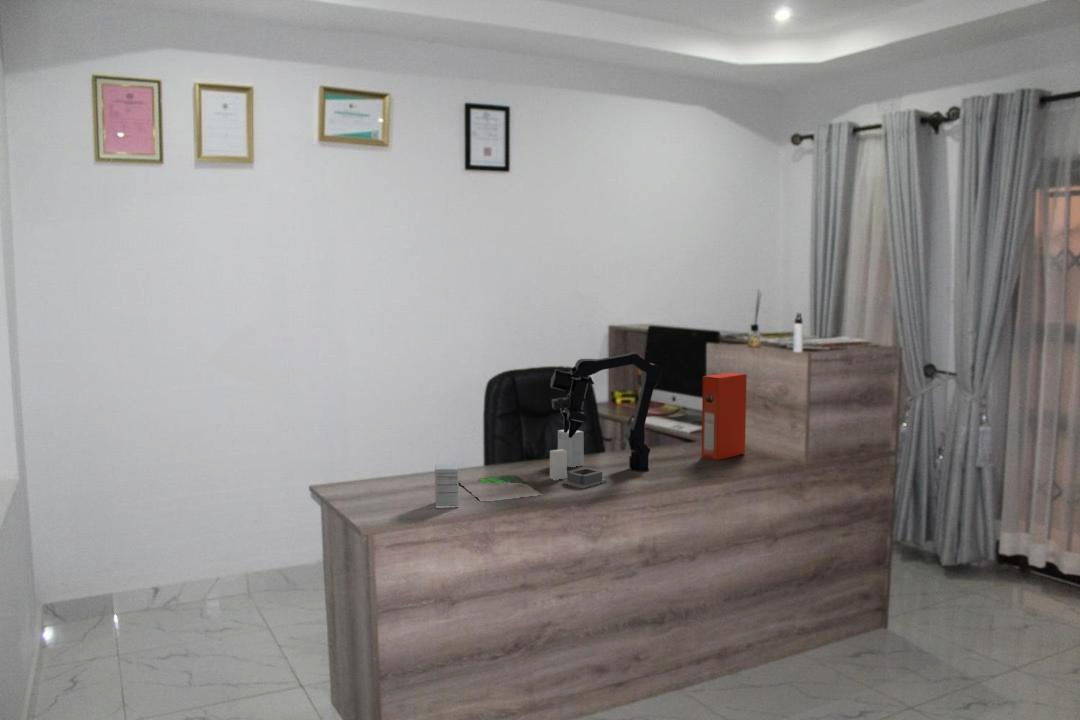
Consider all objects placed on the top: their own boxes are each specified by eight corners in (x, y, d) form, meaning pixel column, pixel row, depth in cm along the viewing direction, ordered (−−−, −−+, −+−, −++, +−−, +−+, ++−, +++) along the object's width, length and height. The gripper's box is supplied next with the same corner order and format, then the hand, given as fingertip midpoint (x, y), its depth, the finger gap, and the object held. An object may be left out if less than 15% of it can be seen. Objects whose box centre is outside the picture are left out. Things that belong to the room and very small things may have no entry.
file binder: (700, 457, 337) (702, 376, 334) (728, 450, 348) (730, 372, 345) (717, 460, 331) (719, 378, 327) (744, 454, 342) (747, 374, 339)
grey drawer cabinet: (435, 502, 275) (435, 463, 274) (459, 501, 276) (458, 463, 275) (434, 508, 268) (434, 469, 267) (458, 508, 269) (458, 468, 267)
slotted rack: (587, 477, 306) (587, 466, 305) (606, 482, 299) (606, 471, 299) (563, 483, 298) (563, 472, 297) (582, 488, 291) (582, 477, 291)
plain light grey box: (562, 476, 307) (562, 449, 306) (566, 479, 304) (566, 451, 303) (549, 478, 305) (549, 450, 304) (554, 480, 302) (554, 452, 301)
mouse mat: (545, 496, 283) (545, 493, 283) (481, 504, 275) (481, 500, 275) (515, 477, 308) (514, 474, 308) (456, 483, 300) (456, 480, 299)
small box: (584, 465, 324) (584, 431, 322) (571, 468, 320) (571, 433, 318) (569, 461, 330) (569, 428, 328) (557, 464, 326) (557, 430, 324)
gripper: (552, 384, 319) (542, 425, 320) (560, 392, 301) (550, 435, 302) (580, 391, 321) (570, 431, 322) (591, 399, 303) (580, 442, 304)
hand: (567, 435), depth 313 cm, fingers open, 9 cm apart
